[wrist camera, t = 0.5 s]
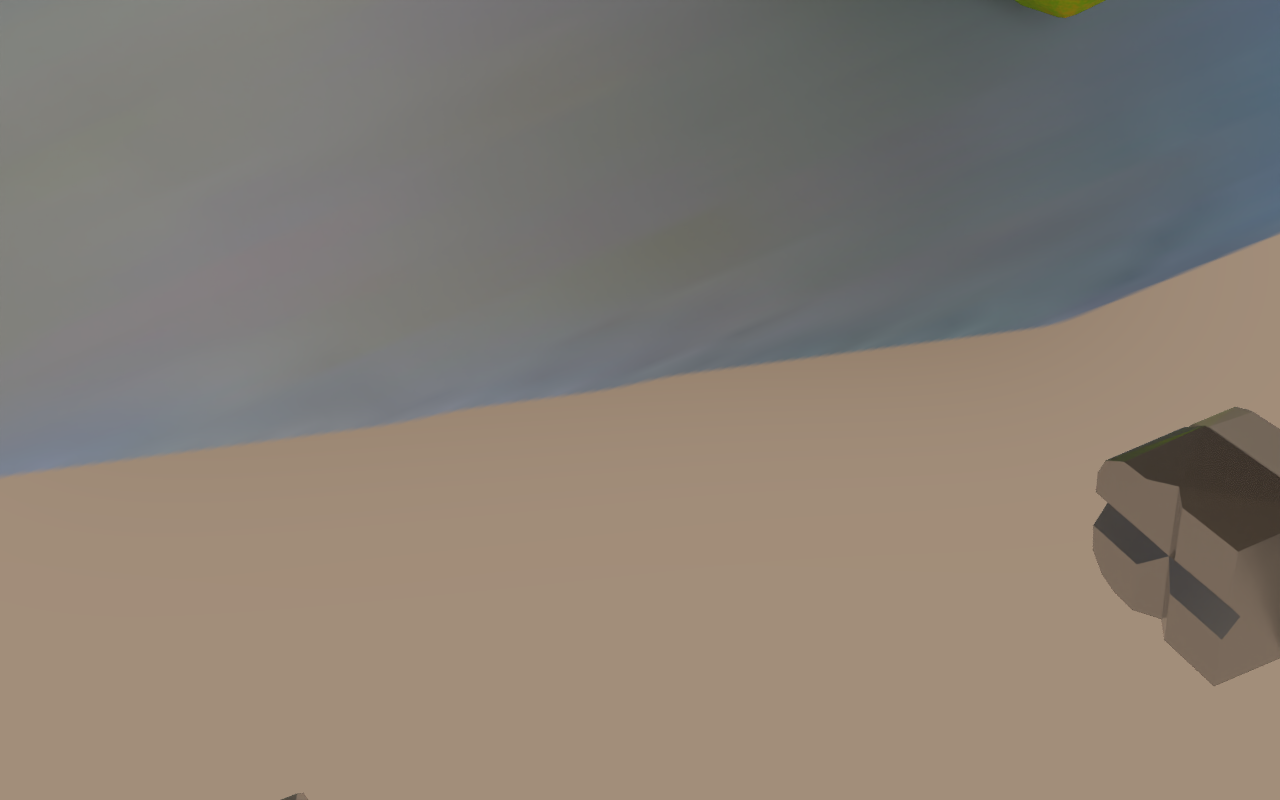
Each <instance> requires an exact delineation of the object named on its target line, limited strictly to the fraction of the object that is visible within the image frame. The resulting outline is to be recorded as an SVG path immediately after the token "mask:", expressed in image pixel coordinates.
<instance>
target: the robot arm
mask: <svg viewBox="0 0 1280 800" xmlns="http://www.w3.org/2000/svg"><path fill="white" fill-rule="evenodd" d="M1096 492H1097V493H1098V494H1099V495H1100V496H1101V497H1102V498H1103V499H1104V500H1105V501H1106V502H1107V505H1106V506H1105V508H1104V510H1103V511H1102V513H1101V514H1100V516H1099V518H1098V519H1097V521H1096V522H1095V524H1094V527H1093V551H1094V554H1095V556H1096V559H1097V562H1098V565H1099V567H1100V570H1101V573H1102V575H1103V576H1104V578H1105V579H1106V581H1107V582H1108V584H1109V585H1110V586H1111V588H1112V589H1113V591H1114V592H1115V593H1116V594H1117V595H1118V596H1119V597H1120V598H1121V599H1122V600H1123V601H1124V602H1125V603H1126V604H1127V605H1128V606H1129V607H1130V608H1131V609H1132V610H1135V611H1138V612H1141V613H1144V614H1147V615H1150V616H1153V617H1157V618H1160V619H1161V620H1162V627H1163V634H1164V640H1165V641H1166V642H1167V643H1168V644H1169V645H1170V646H1171V647H1172V648H1173V649H1174V650H1176V651H1177V652H1178V653H1179V654H1180V655H1181V656H1182V657H1183V658H1184V659H1185V660H1186V661H1187V662H1188V663H1189V664H1191V665H1192V666H1193V667H1194V668H1195V669H1196V670H1197V671H1198V672H1199V673H1200V674H1201V675H1202V676H1204V677H1205V678H1206V679H1207V680H1208V681H1209V682H1210V683H1211V684H1212V685H1213V686H1216V685H1218V684H1220V683H1223V682H1225V681H1228V680H1230V679H1232V678H1235V677H1237V676H1239V675H1242V674H1244V673H1246V672H1249V671H1251V670H1254V669H1256V668H1258V667H1260V666H1263V665H1265V664H1268V663H1270V662H1272V661H1275V660H1277V659H1279V658H1280V429H1279V428H1277V427H1276V426H1274V425H1273V424H1271V423H1269V422H1268V421H1266V420H1265V419H1263V418H1262V417H1260V416H1259V415H1257V414H1256V413H1254V412H1252V411H1249V410H1247V409H1242V408H1238V407H1234V408H1231V409H1229V410H1226V411H1224V412H1221V413H1219V414H1216V415H1214V416H1212V417H1209V418H1207V419H1205V420H1202V421H1200V422H1197V423H1195V424H1193V425H1191V426H1189V427H1184V428H1181V429H1179V430H1177V431H1174V432H1172V433H1169V434H1168V435H1165V436H1162V437H1160V438H1158V439H1155V440H1153V441H1151V442H1148V443H1146V444H1144V445H1141V446H1139V447H1136V448H1134V449H1132V450H1129V451H1127V452H1125V453H1122V454H1120V455H1118V456H1115V457H1113V458H1111V459H1108V460H1106V461H1105V462H1104V464H1103V465H1102V467H1101V469H1100V470H1099V472H1098V477H1097V487H1096ZM282 800H308V799H307V798H306V796H305V795H304V793H298V794H295V795H292V796H290V797H287V798H284V799H282Z"/></svg>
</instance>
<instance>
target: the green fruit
mask: <svg viewBox="0 0 1280 800" xmlns="http://www.w3.org/2000/svg"><path fill="white" fill-rule="evenodd" d="M1015 1H1016V2H1018V3H1019V4H1021V5H1023V6H1026V7H1029V8H1032V9H1035V10H1038V11H1041V12H1044V13H1047V14H1050V15H1053V16H1056V17H1062V18H1066V17H1070V16H1073V15H1076V14H1078V13H1080V12H1082V11H1085V10H1087V9H1089V8H1091V7H1093V6H1095V5H1097V4H1099V3H1101V2H1103V1H1105V0H1015Z"/></svg>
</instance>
